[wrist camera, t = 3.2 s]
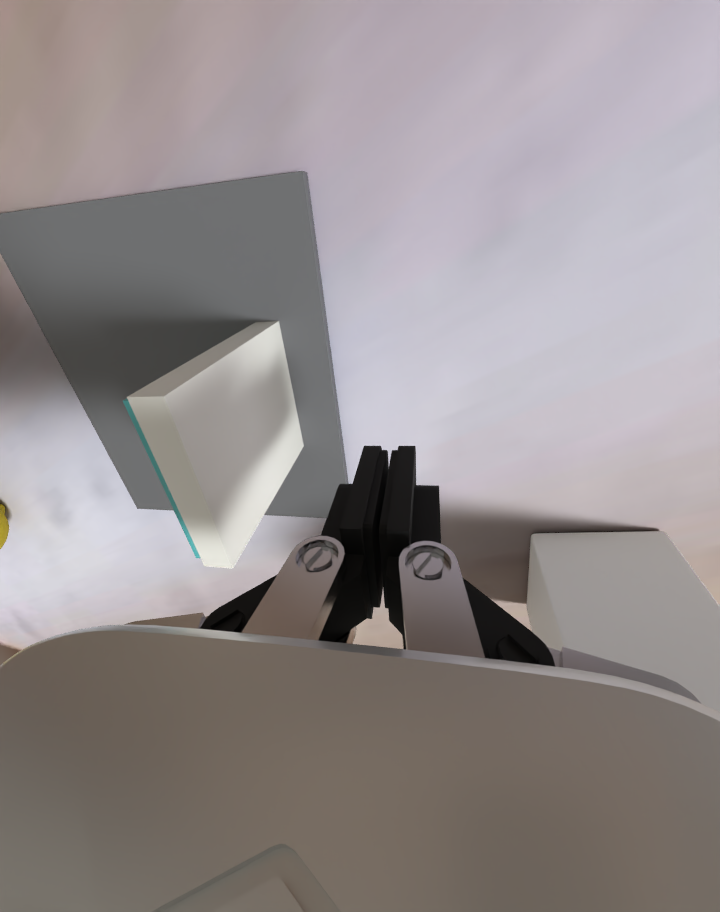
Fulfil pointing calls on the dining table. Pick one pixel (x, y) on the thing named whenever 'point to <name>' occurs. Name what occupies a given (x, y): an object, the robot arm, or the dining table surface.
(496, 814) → the robot arm
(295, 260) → the mat
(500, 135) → the dining table surface
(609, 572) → the milk carton
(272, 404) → the tile
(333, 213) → the dining table surface
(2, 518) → the lemon
